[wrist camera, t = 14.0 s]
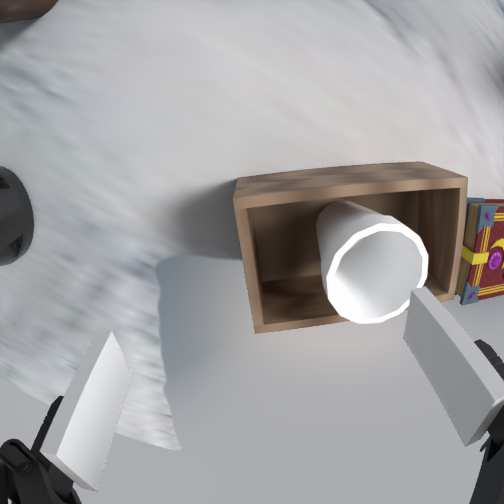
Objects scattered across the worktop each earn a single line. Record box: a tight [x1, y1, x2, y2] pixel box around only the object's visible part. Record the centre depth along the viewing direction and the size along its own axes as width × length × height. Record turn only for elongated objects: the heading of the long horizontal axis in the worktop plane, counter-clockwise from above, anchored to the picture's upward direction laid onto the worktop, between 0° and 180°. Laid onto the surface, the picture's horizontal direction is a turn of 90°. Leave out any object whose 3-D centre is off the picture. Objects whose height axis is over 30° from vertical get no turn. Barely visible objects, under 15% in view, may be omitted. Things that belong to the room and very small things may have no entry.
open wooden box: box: [232, 162, 468, 333], centre depth 32 cm, size 23×14×10 cm, turn 98°
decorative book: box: [454, 198, 504, 305], centre depth 36 cm, size 11×16×5 cm
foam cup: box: [316, 201, 428, 324], centre depth 30 cm, size 10×9×13 cm
